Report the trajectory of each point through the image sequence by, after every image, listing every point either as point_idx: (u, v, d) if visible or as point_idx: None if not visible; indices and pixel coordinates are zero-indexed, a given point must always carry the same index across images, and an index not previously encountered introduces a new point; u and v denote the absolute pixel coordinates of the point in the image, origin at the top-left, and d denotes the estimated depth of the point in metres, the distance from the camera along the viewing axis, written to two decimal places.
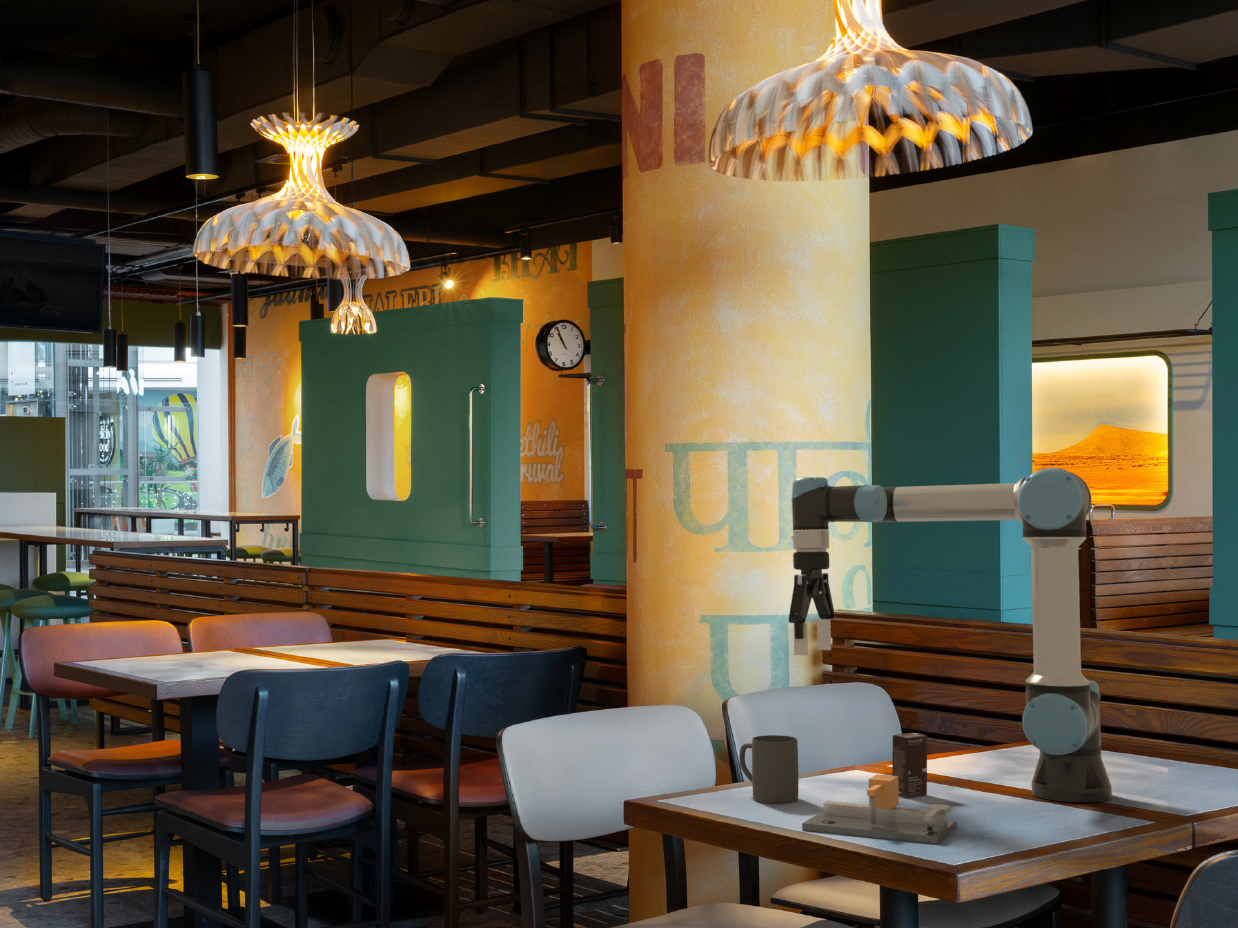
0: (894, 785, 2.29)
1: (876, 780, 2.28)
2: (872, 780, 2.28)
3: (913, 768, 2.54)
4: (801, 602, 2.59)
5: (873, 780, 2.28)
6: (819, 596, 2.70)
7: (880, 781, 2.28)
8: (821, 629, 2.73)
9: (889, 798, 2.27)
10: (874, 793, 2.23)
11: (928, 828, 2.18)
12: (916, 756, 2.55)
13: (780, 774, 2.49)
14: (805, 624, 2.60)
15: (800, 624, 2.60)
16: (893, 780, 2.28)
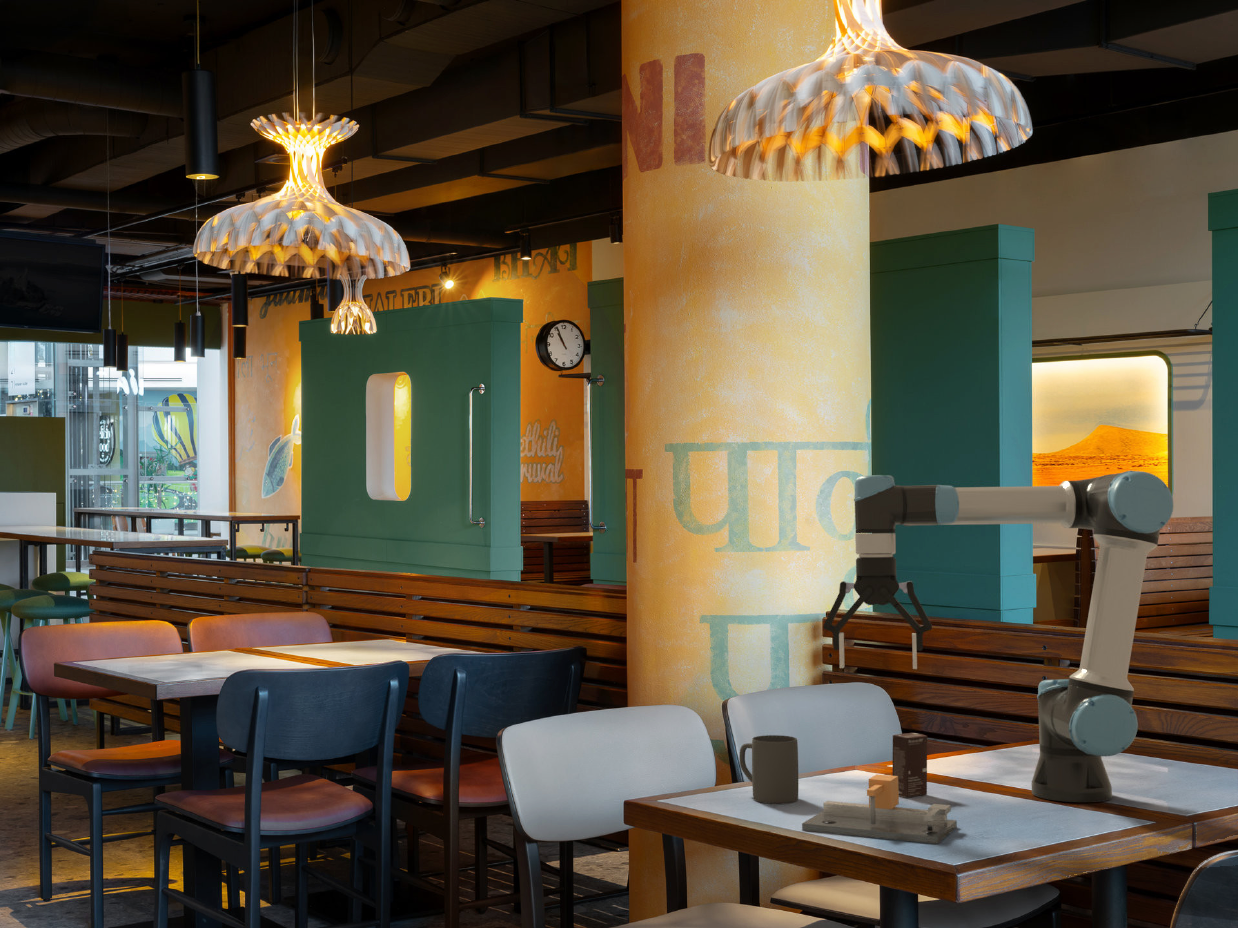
0: (894, 785, 2.29)
1: (876, 780, 2.28)
2: (872, 780, 2.28)
3: (913, 768, 2.54)
4: None
5: (873, 780, 2.28)
6: (894, 607, 2.42)
7: (880, 781, 2.28)
8: None
9: (889, 798, 2.27)
10: (874, 793, 2.23)
11: (928, 828, 2.18)
12: (916, 756, 2.55)
13: (780, 774, 2.49)
14: (839, 634, 2.43)
15: (833, 634, 2.44)
16: (893, 780, 2.28)
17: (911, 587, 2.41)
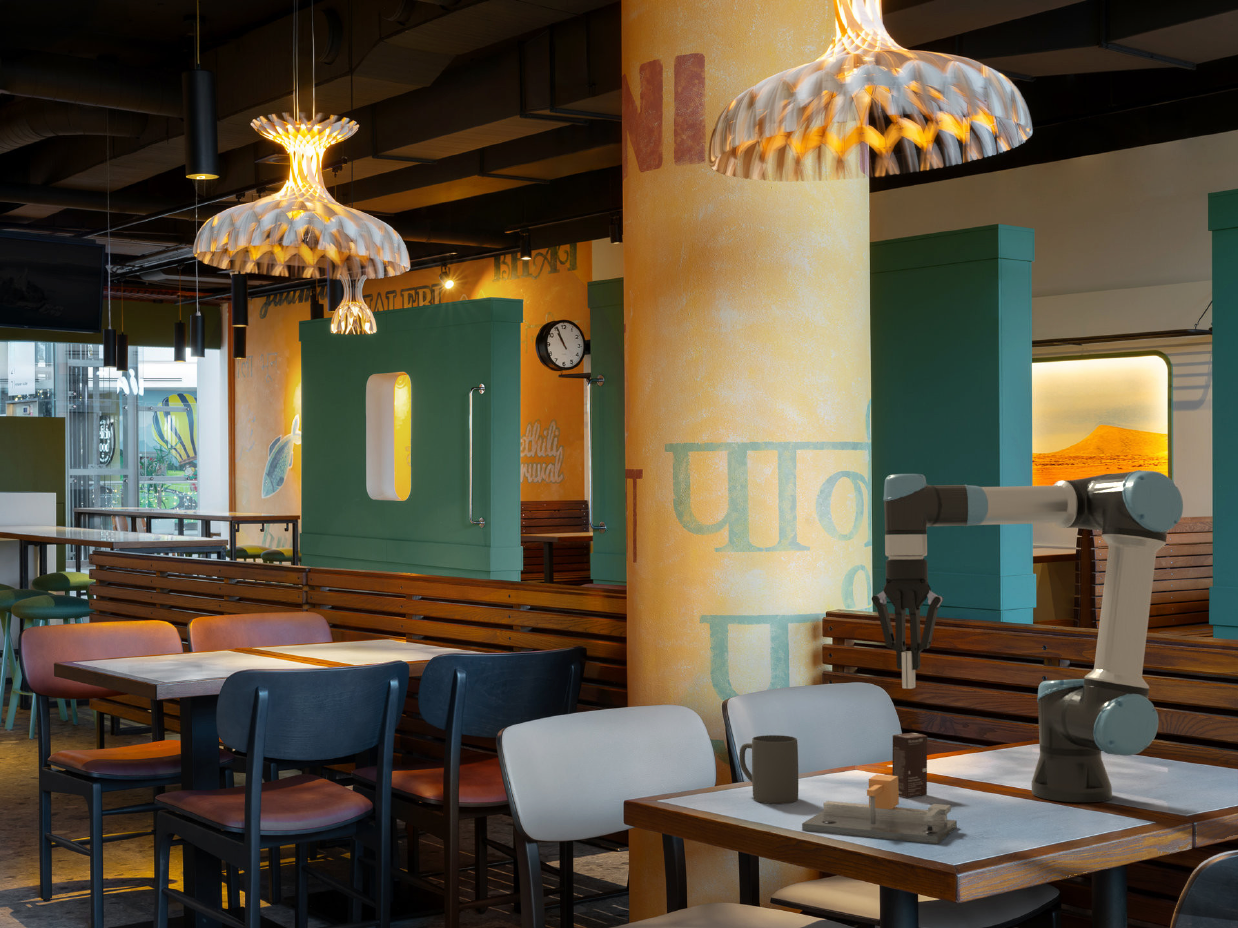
0: (894, 785, 2.29)
1: (876, 780, 2.28)
2: (872, 780, 2.28)
3: (913, 768, 2.54)
4: (882, 628, 2.34)
5: (873, 780, 2.28)
6: None
7: (880, 781, 2.28)
8: None
9: (889, 798, 2.27)
10: (874, 793, 2.23)
11: (928, 828, 2.18)
12: (916, 756, 2.55)
13: (780, 774, 2.49)
14: (902, 653, 2.32)
15: (896, 652, 2.33)
16: (893, 780, 2.28)
17: (936, 603, 2.30)
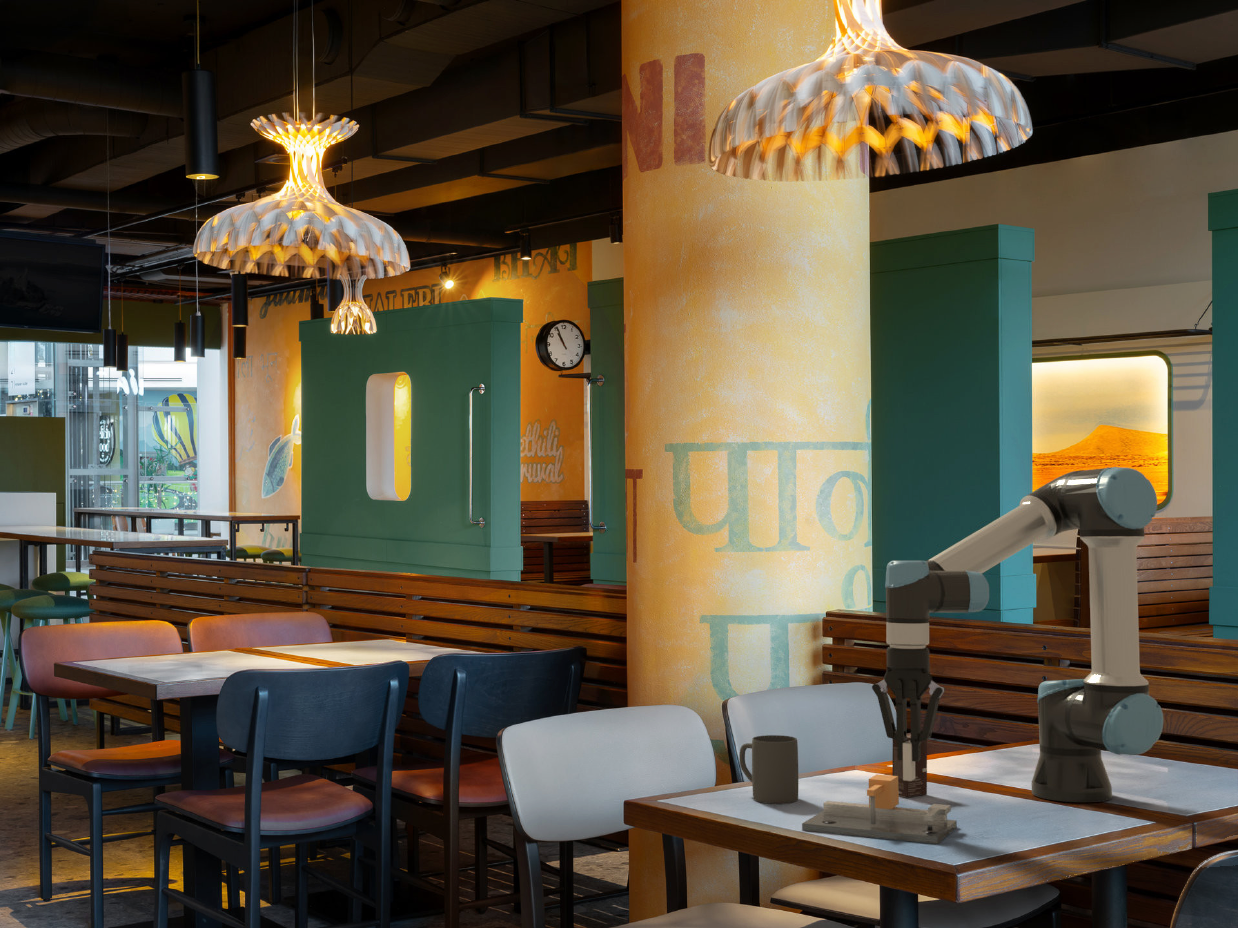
0: (894, 785, 2.29)
1: (876, 780, 2.28)
2: (872, 780, 2.28)
3: None
4: (883, 718, 2.29)
5: (873, 780, 2.28)
6: None
7: (880, 781, 2.28)
8: None
9: (889, 798, 2.27)
10: (874, 793, 2.23)
11: (928, 828, 2.18)
12: None
13: (780, 774, 2.49)
14: (903, 744, 2.27)
15: (897, 743, 2.28)
16: (893, 780, 2.28)
17: (937, 694, 2.25)
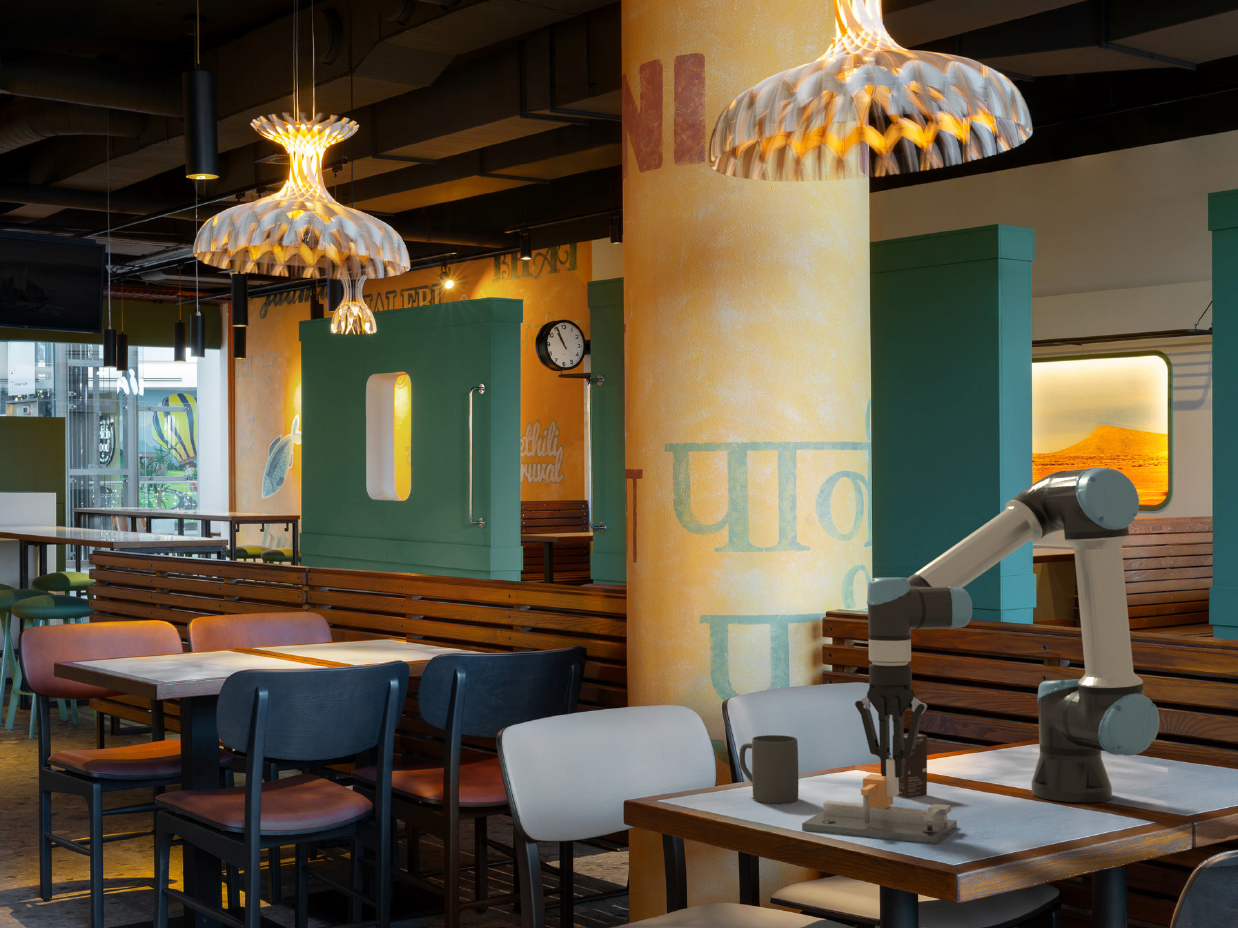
0: None
1: (870, 780, 2.28)
2: (866, 780, 2.29)
3: (913, 768, 2.54)
4: (866, 734, 2.31)
5: (867, 780, 2.29)
6: None
7: (874, 781, 2.28)
8: None
9: (883, 797, 2.27)
10: (868, 792, 2.23)
11: (928, 828, 2.18)
12: (916, 756, 2.55)
13: (780, 774, 2.49)
14: (886, 760, 2.28)
15: (881, 759, 2.30)
16: None
17: (920, 710, 2.26)
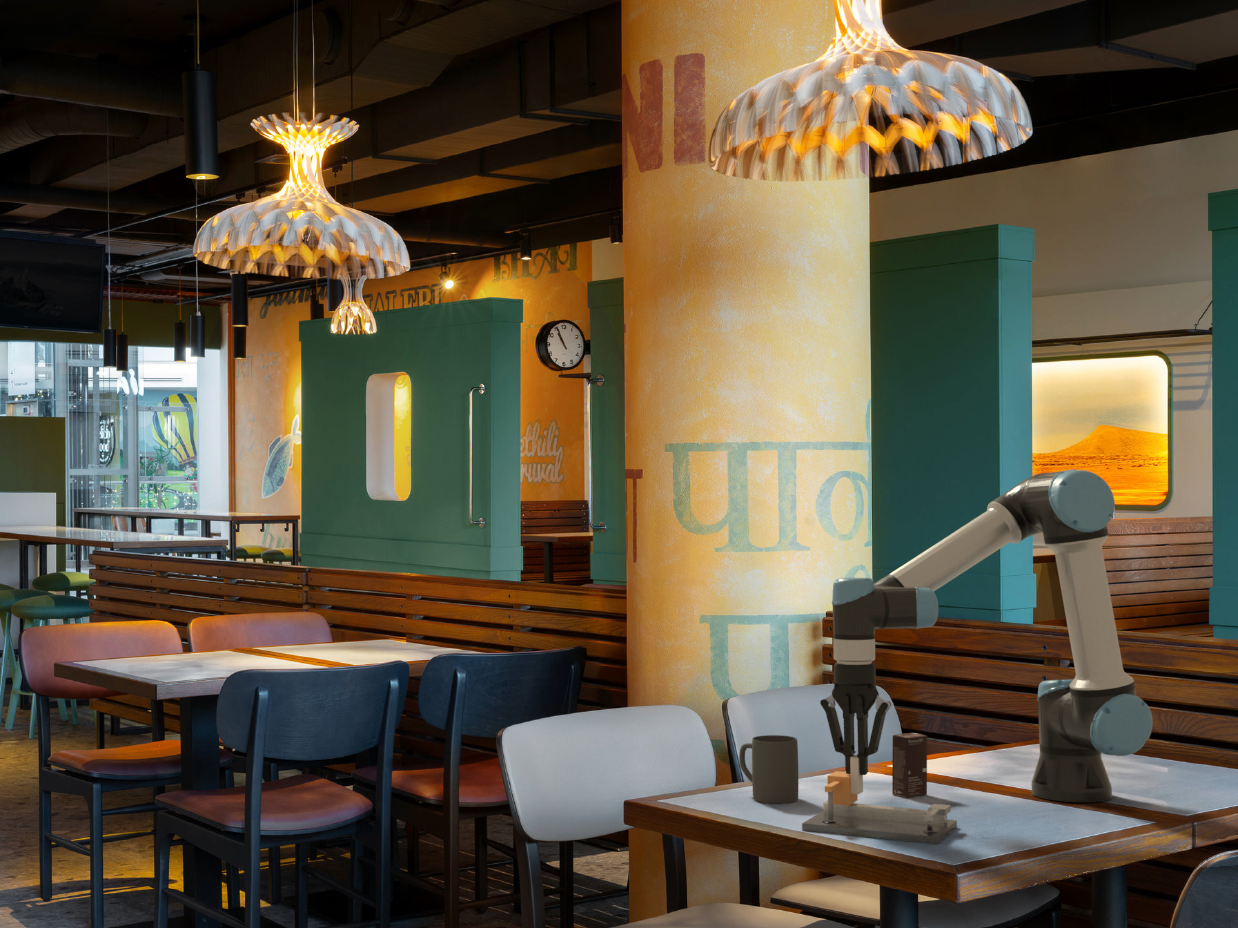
0: None
1: (835, 777, 2.32)
2: (831, 777, 2.32)
3: (913, 768, 2.54)
4: (831, 732, 2.34)
5: (832, 777, 2.32)
6: None
7: (839, 778, 2.31)
8: None
9: (847, 794, 2.30)
10: (832, 789, 2.26)
11: (928, 828, 2.18)
12: (916, 756, 2.55)
13: (780, 774, 2.49)
14: (850, 758, 2.32)
15: (845, 757, 2.33)
16: None
17: (883, 709, 2.29)
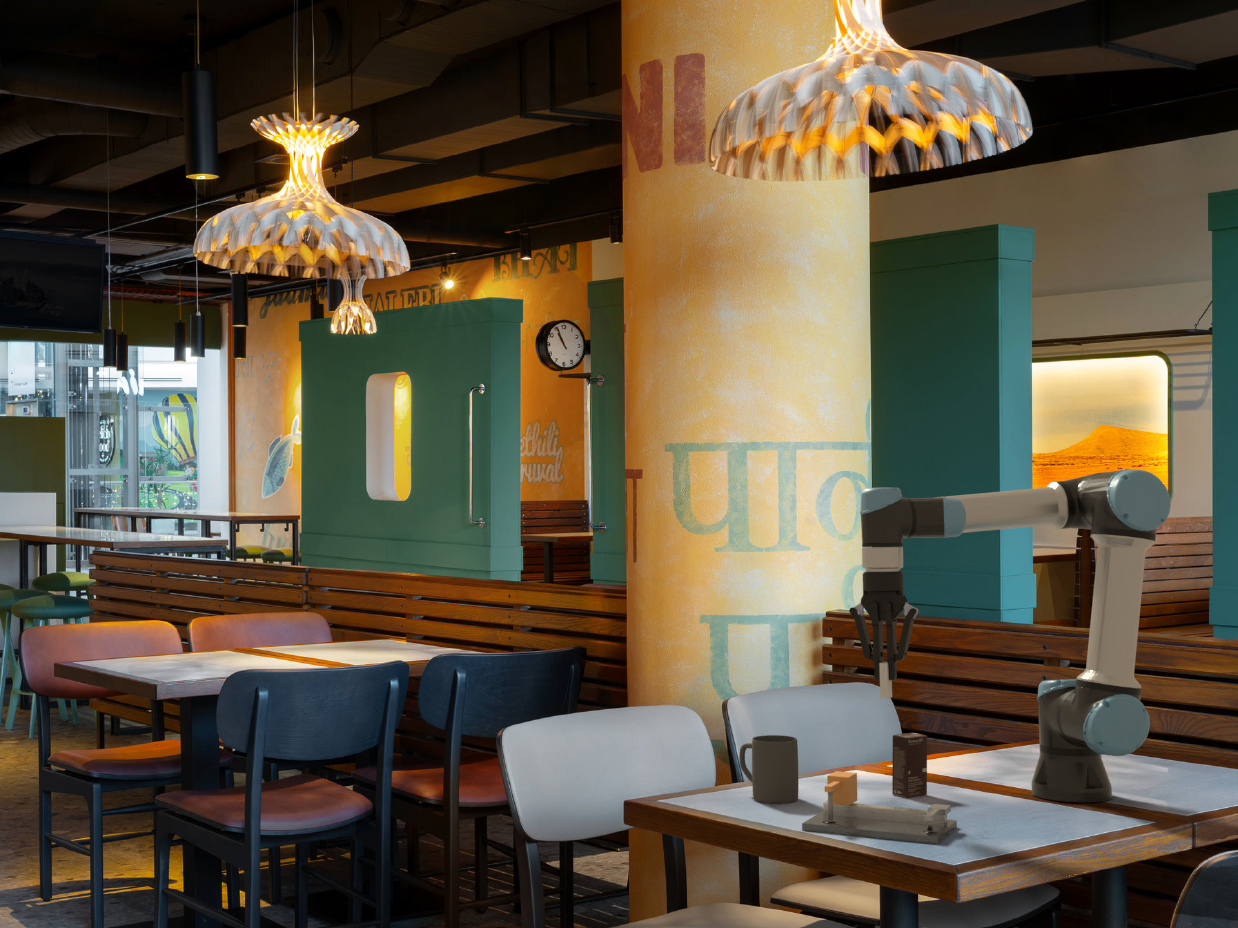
0: (853, 781, 2.33)
1: (835, 777, 2.32)
2: (831, 777, 2.32)
3: (913, 768, 2.54)
4: (860, 639, 2.38)
5: (832, 777, 2.32)
6: None
7: (838, 778, 2.31)
8: None
9: (847, 794, 2.30)
10: (832, 789, 2.26)
11: (928, 828, 2.18)
12: (916, 756, 2.55)
13: (780, 774, 2.49)
14: (880, 664, 2.36)
15: (874, 663, 2.37)
16: (851, 777, 2.32)
17: (912, 614, 2.34)
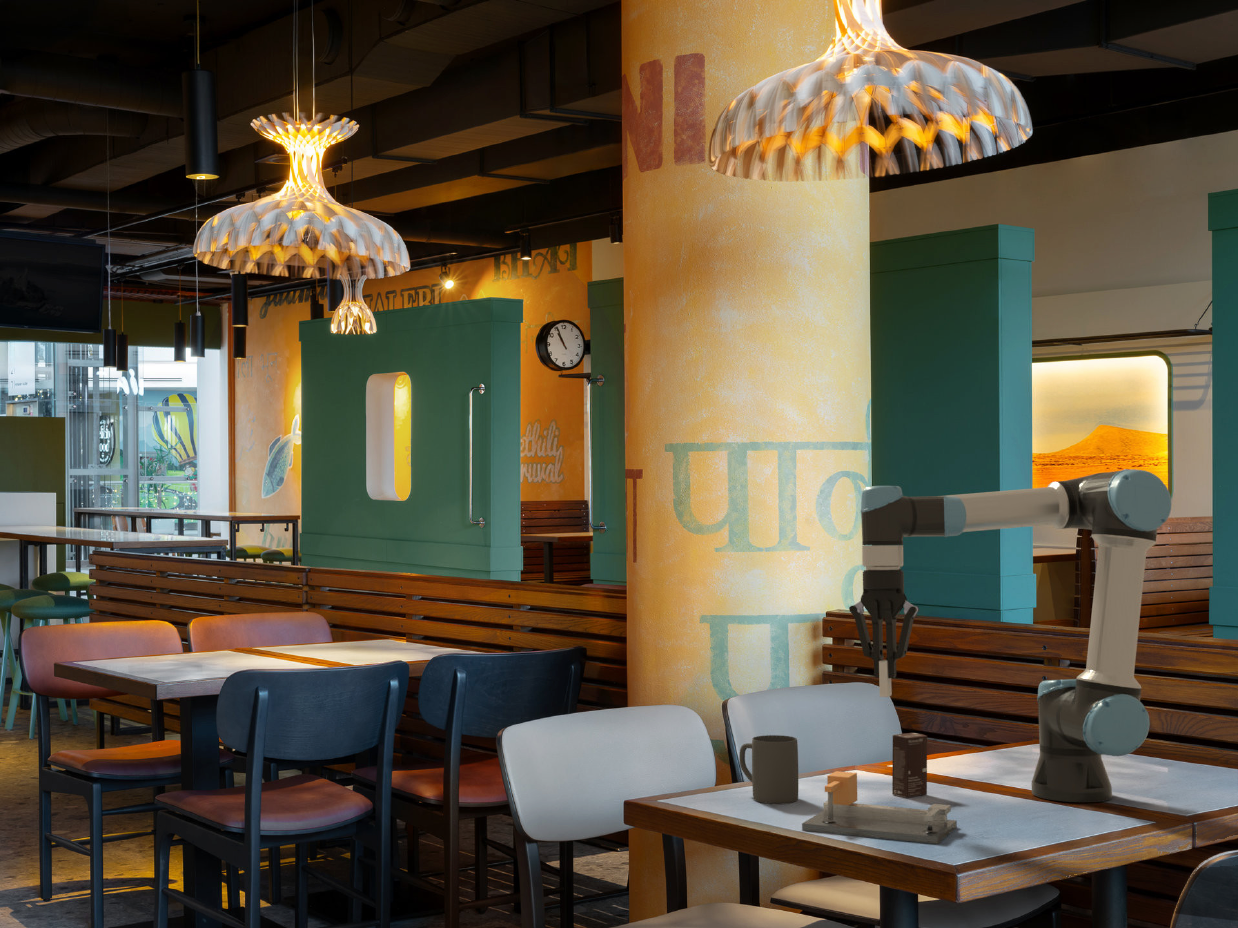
0: (853, 781, 2.33)
1: (835, 777, 2.32)
2: (831, 777, 2.32)
3: (913, 768, 2.54)
4: (860, 637, 2.38)
5: (832, 777, 2.32)
6: None
7: (838, 778, 2.31)
8: None
9: (847, 794, 2.30)
10: (832, 789, 2.26)
11: (928, 828, 2.18)
12: (916, 756, 2.55)
13: (780, 774, 2.49)
14: (879, 662, 2.36)
15: (874, 661, 2.37)
16: (851, 777, 2.32)
17: (911, 613, 2.34)
